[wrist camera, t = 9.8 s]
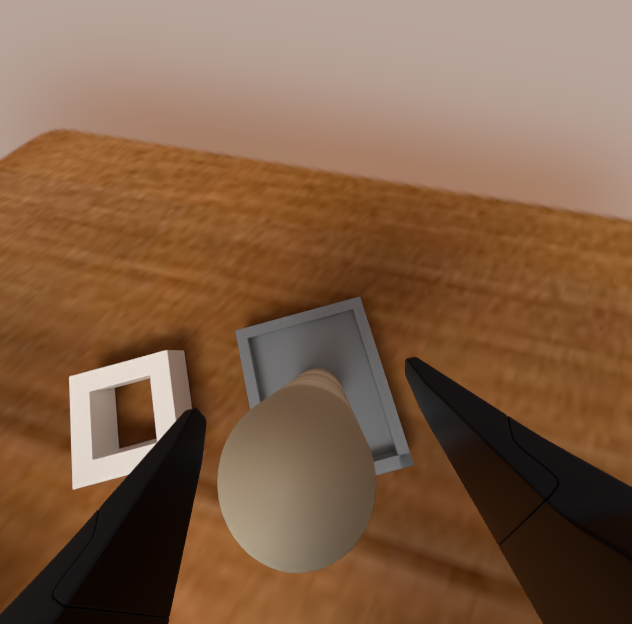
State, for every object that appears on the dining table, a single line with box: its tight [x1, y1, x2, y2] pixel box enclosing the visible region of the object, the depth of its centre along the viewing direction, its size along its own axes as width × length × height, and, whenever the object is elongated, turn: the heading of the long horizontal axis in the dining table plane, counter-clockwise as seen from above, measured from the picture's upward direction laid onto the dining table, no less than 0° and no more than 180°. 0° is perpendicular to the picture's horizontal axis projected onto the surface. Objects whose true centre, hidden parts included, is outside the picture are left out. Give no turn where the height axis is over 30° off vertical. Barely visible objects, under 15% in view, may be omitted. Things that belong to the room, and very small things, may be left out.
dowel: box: [217, 367, 376, 573], centre depth 11 cm, size 4×4×12 cm
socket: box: [69, 350, 192, 489], centre depth 17 cm, size 8×8×2 cm
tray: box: [235, 297, 414, 475], centre depth 17 cm, size 12×10×2 cm
